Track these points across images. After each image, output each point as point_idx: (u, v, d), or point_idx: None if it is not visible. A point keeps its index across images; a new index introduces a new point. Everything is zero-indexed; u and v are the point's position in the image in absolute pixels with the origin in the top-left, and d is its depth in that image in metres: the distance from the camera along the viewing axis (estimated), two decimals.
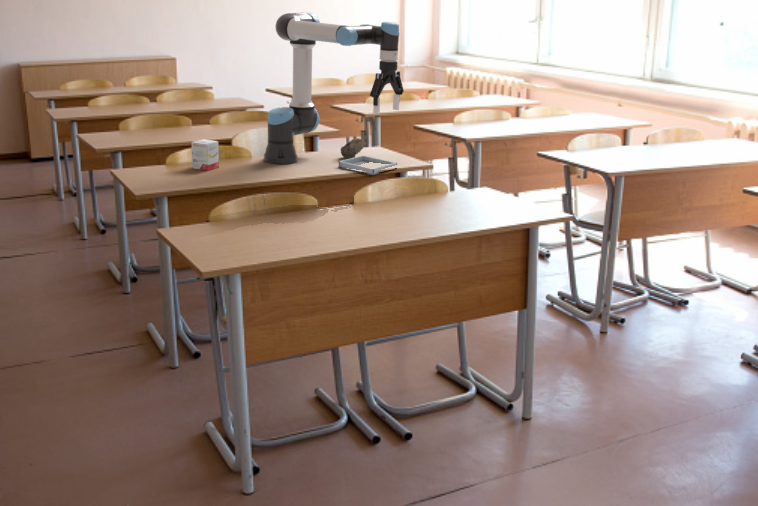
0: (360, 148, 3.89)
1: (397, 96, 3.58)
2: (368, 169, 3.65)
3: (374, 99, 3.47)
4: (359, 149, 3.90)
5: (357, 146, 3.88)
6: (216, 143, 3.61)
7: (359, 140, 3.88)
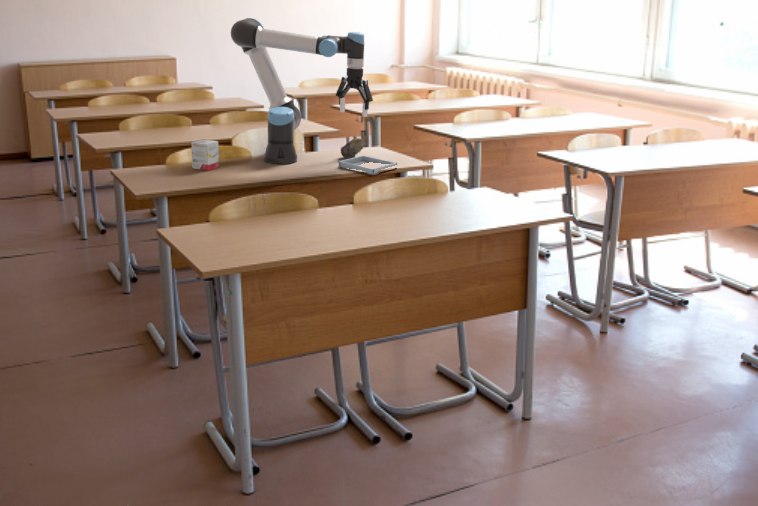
0: (360, 148, 3.89)
1: None
2: (368, 169, 3.65)
3: None
4: (359, 149, 3.90)
5: (357, 146, 3.88)
6: (216, 143, 3.61)
7: (359, 140, 3.88)
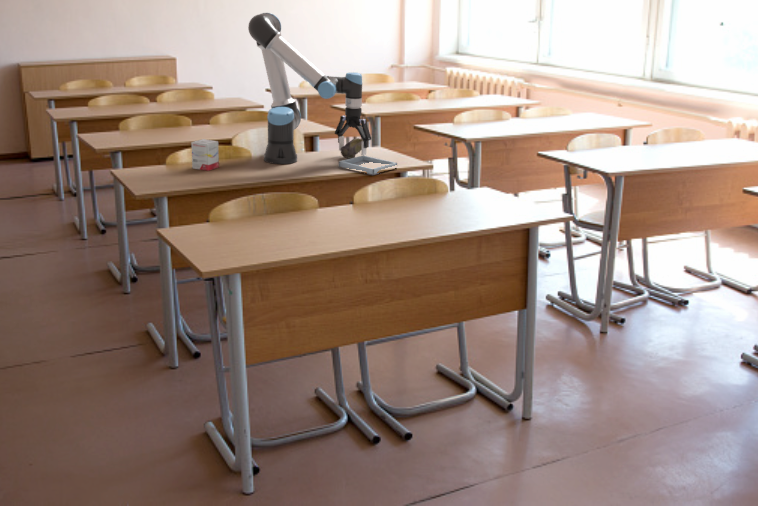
0: (360, 148, 3.89)
1: None
2: (368, 169, 3.65)
3: None
4: (359, 149, 3.90)
5: (357, 146, 3.88)
6: (216, 143, 3.61)
7: (359, 140, 3.88)
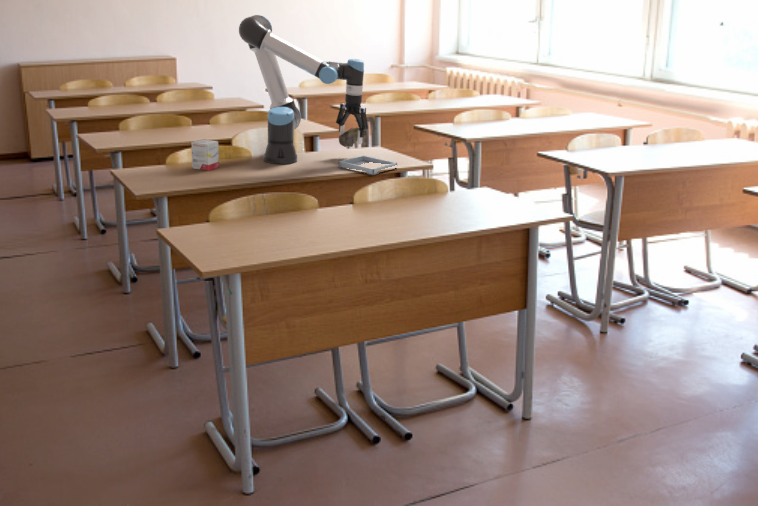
0: None
1: None
2: (368, 169, 3.65)
3: None
4: (357, 138, 3.88)
5: (355, 135, 3.86)
6: (216, 143, 3.61)
7: (358, 129, 3.86)
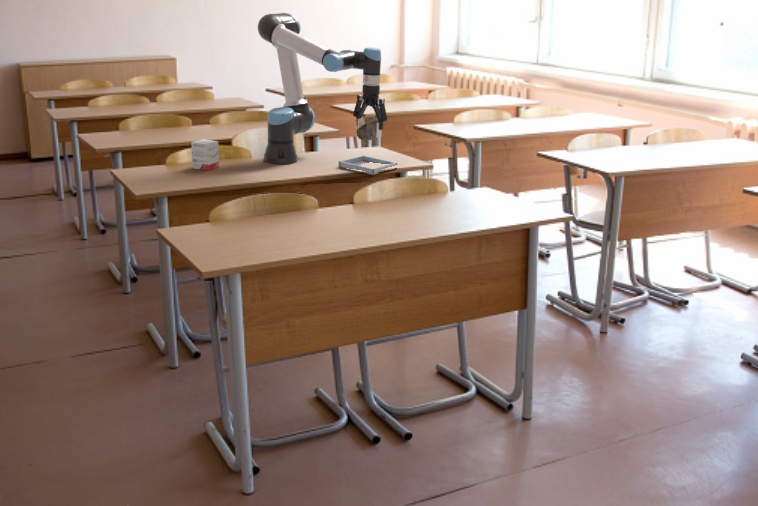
0: None
1: None
2: (368, 169, 3.65)
3: None
4: (376, 131, 3.69)
5: (374, 127, 3.67)
6: (216, 143, 3.61)
7: (376, 121, 3.67)
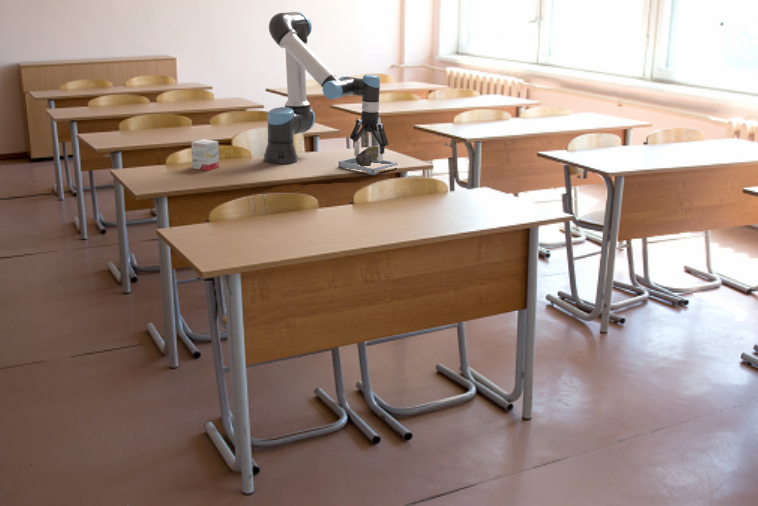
0: (376, 156, 3.73)
1: None
2: (368, 169, 3.65)
3: None
4: (375, 157, 3.73)
5: (373, 154, 3.71)
6: (216, 143, 3.61)
7: (375, 148, 3.71)
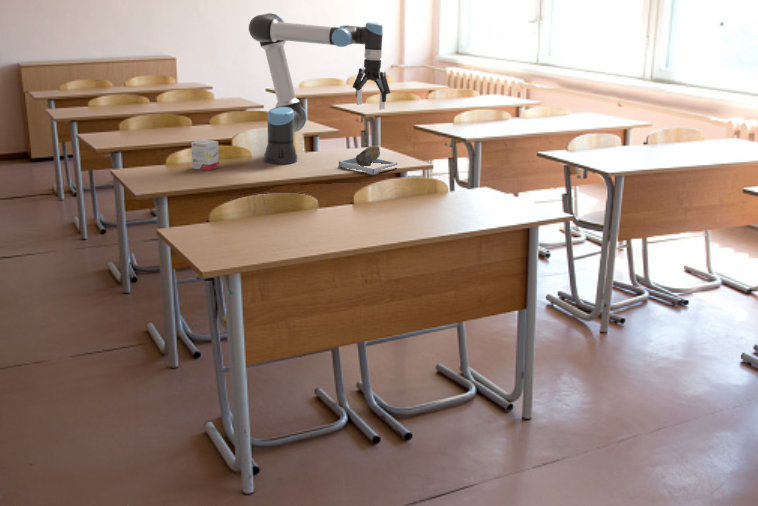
0: (376, 156, 3.73)
1: None
2: (368, 169, 3.65)
3: None
4: (375, 157, 3.73)
5: (373, 154, 3.71)
6: (216, 143, 3.61)
7: (375, 148, 3.71)
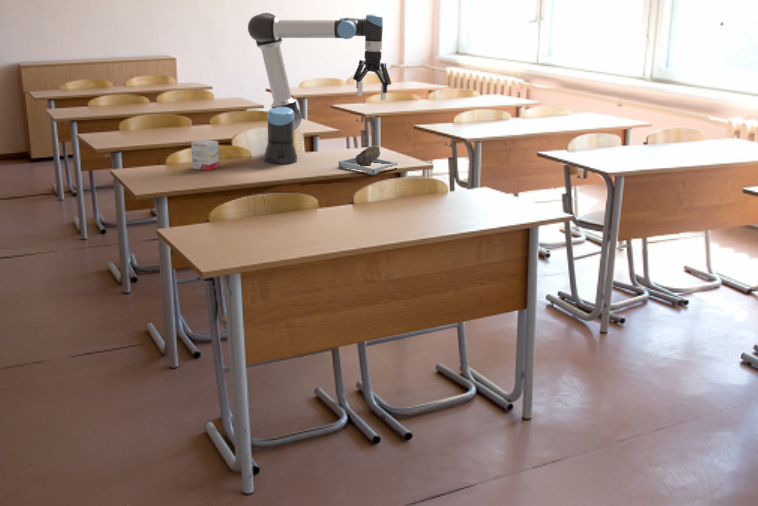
0: (376, 156, 3.73)
1: None
2: (368, 169, 3.65)
3: None
4: (375, 157, 3.73)
5: (373, 154, 3.71)
6: (216, 143, 3.61)
7: (375, 148, 3.71)
